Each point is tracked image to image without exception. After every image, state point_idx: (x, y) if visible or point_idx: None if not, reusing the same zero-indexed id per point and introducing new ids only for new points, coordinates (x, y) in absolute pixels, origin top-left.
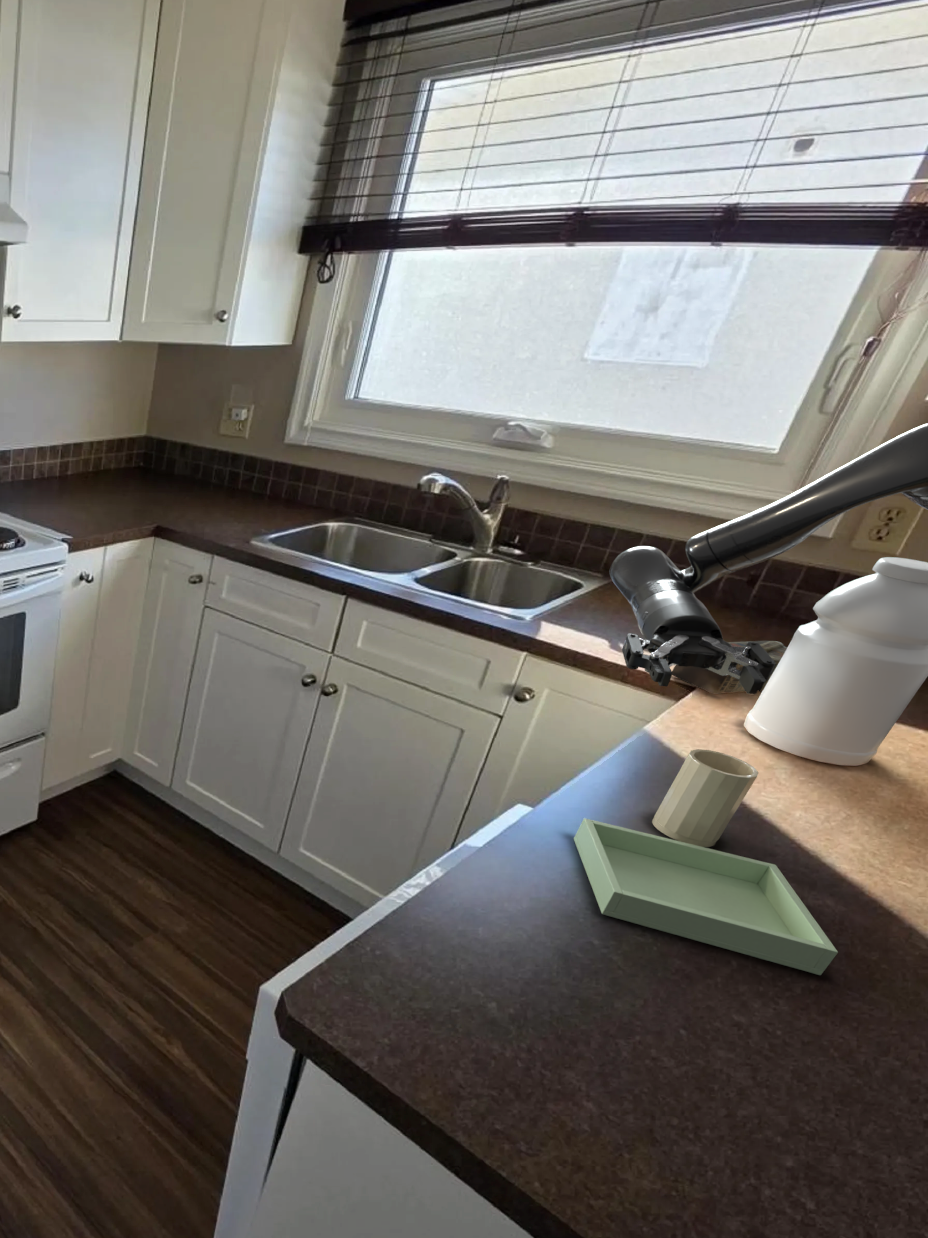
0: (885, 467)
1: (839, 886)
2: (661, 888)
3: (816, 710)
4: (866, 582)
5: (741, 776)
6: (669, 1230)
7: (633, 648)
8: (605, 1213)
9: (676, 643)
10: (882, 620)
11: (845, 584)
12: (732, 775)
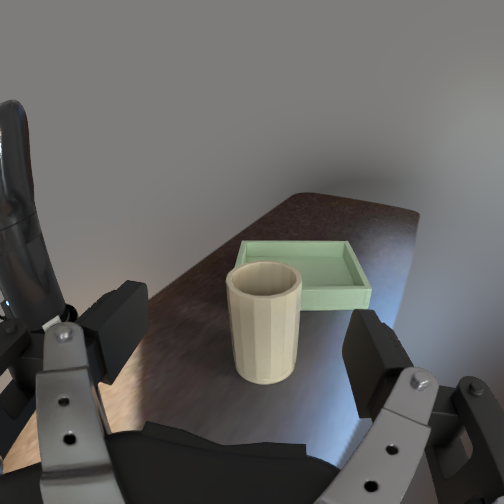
0: None
1: (157, 329)
2: (312, 277)
3: None
4: None
5: (255, 261)
6: (329, 199)
7: (494, 406)
8: (341, 199)
9: (360, 476)
10: None
11: None
12: (265, 260)
